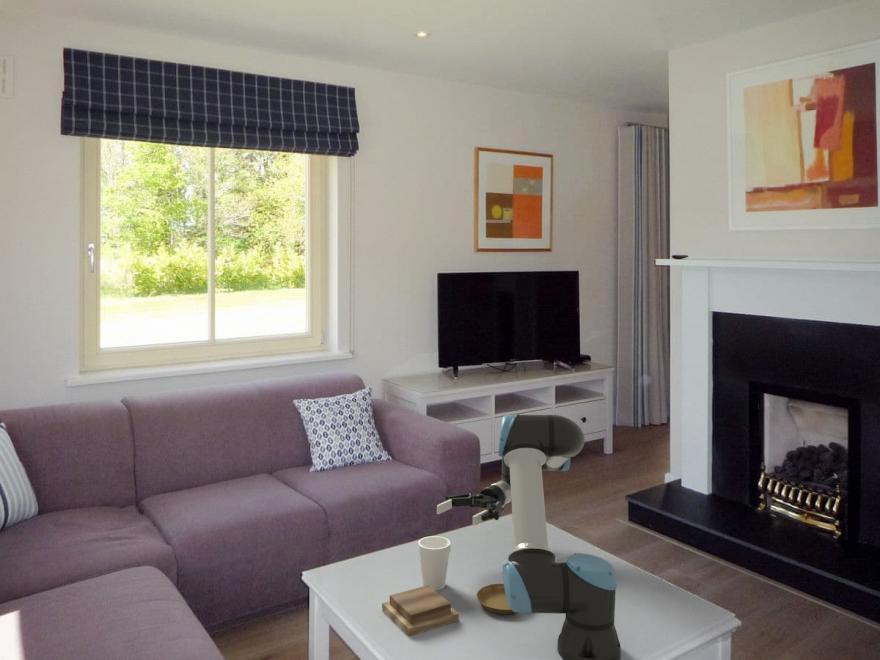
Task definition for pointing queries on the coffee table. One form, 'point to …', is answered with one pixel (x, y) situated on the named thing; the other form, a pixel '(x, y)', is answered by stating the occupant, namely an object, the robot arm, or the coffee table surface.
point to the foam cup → (434, 560)
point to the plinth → (421, 624)
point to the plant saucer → (494, 599)
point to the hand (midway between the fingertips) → (455, 515)
